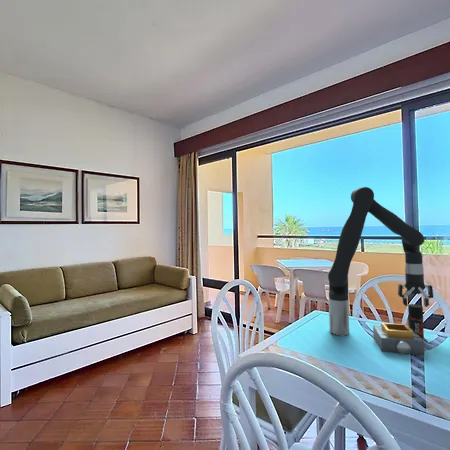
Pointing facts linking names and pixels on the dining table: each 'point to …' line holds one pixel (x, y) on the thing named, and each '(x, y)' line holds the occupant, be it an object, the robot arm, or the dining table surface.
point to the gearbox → (398, 339)
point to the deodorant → (416, 319)
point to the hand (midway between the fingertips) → (415, 306)
